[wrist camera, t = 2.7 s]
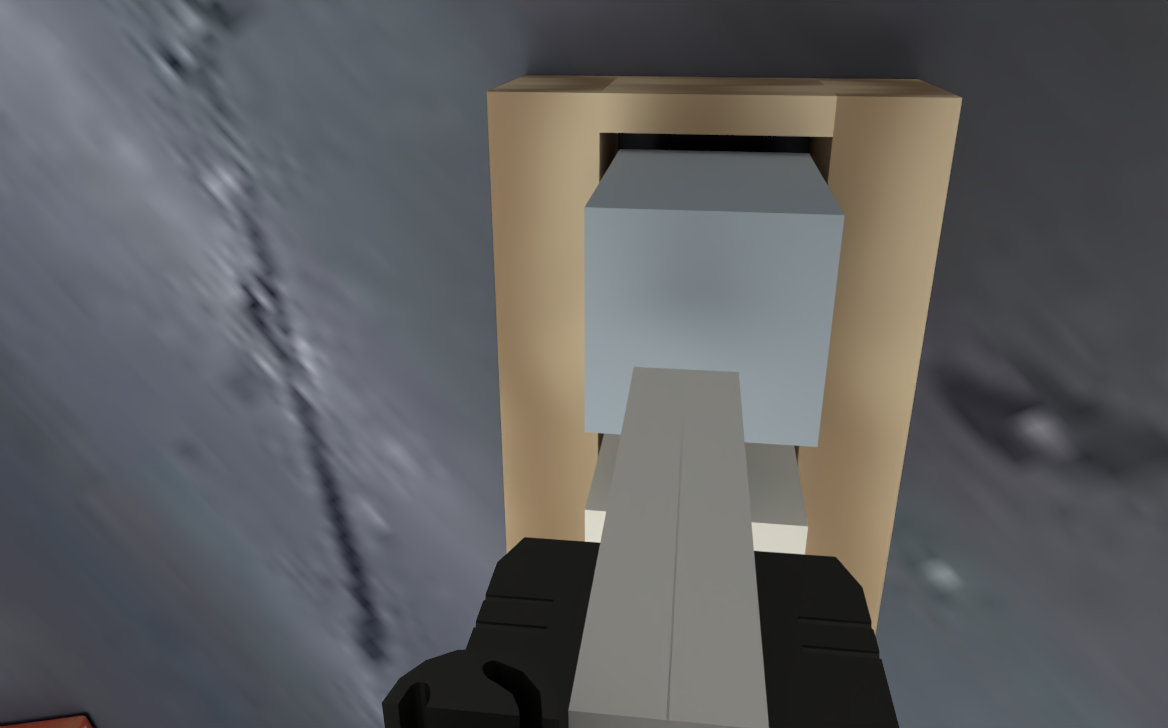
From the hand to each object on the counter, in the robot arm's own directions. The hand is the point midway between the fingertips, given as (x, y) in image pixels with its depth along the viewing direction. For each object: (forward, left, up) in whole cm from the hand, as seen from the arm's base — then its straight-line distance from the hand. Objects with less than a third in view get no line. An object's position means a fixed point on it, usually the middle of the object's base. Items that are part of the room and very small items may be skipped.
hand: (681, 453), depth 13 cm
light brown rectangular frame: (0, +7, -17) cm, 18 cm away
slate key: (0, 0, -13) cm, 13 cm away
